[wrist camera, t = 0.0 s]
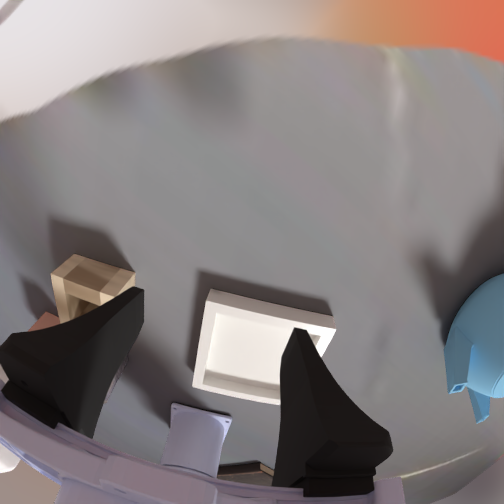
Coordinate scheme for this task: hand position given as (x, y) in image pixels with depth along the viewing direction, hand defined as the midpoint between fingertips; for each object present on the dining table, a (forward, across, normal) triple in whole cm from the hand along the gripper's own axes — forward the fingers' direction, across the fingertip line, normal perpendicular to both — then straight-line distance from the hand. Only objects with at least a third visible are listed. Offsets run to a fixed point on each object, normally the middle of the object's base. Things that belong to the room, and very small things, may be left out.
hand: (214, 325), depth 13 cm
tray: (+10, -4, +11) cm, 15 cm away
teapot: (+10, -29, +2) cm, 31 cm away
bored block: (+10, +12, +9) cm, 18 cm away
